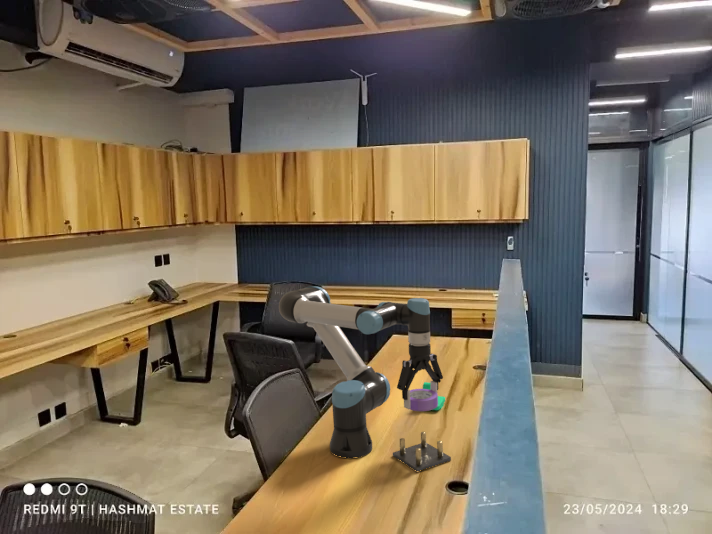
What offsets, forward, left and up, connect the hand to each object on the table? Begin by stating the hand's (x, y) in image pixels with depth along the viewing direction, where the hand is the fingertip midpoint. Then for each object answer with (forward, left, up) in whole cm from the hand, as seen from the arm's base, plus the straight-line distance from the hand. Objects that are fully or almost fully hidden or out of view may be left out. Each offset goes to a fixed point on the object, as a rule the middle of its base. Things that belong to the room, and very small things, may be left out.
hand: (421, 403), depth 186 cm
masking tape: (0, 0, -1) cm, 1 cm away
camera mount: (+27, +28, -16) cm, 42 cm away
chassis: (-5, -6, -16) cm, 18 cm away
